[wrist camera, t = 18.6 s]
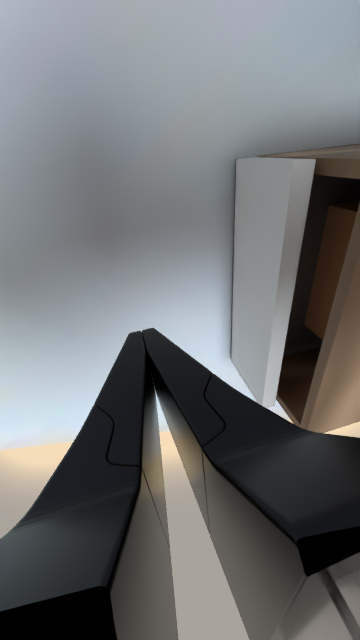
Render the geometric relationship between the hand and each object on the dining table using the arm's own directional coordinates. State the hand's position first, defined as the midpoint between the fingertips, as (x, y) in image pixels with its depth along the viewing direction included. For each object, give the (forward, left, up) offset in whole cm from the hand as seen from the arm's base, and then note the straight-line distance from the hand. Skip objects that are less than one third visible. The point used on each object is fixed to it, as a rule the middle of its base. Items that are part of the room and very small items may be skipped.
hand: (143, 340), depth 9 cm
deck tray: (+3, +14, -8) cm, 17 cm away
